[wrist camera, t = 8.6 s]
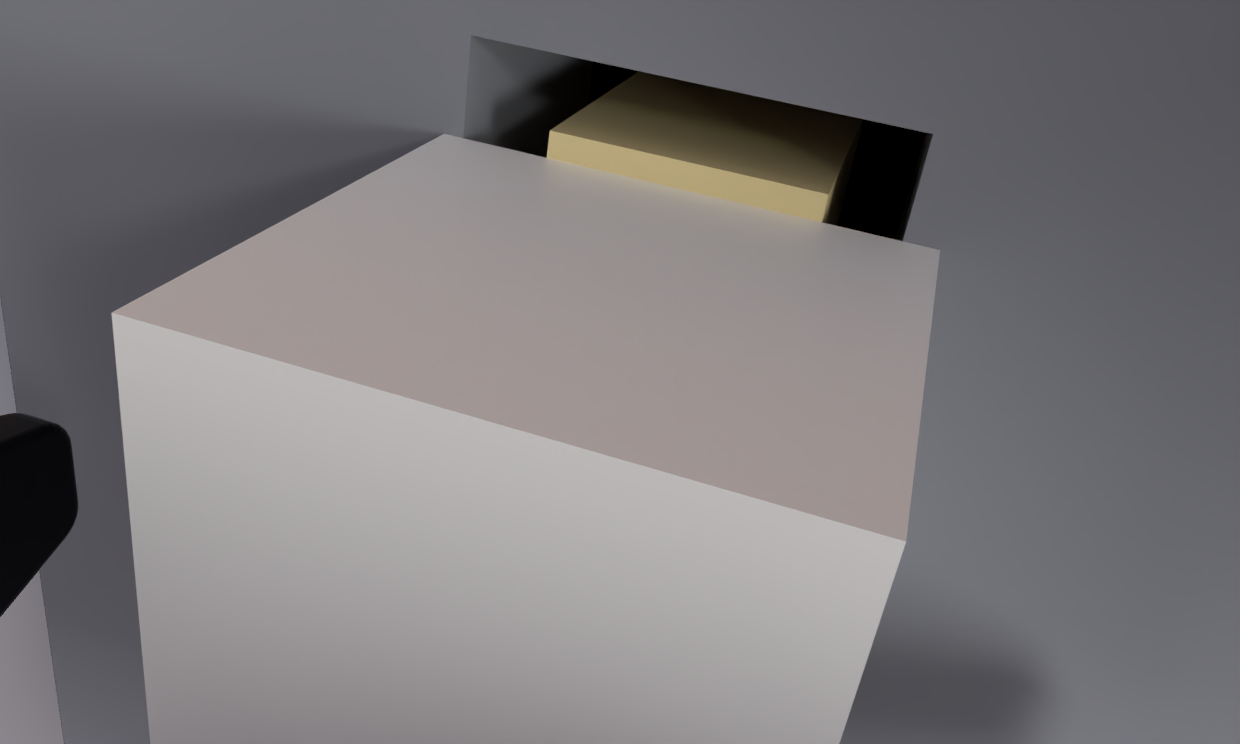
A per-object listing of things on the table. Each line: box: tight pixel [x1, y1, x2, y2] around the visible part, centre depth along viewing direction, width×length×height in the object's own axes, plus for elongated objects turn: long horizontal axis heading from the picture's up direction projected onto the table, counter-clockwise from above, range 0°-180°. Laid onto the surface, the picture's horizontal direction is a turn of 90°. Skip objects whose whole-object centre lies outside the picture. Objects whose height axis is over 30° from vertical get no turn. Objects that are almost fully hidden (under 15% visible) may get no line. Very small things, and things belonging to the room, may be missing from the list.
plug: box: [112, 71, 940, 744], centre depth 9 cm, size 4×9×6 cm, turn 171°
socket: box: [0, 0, 1240, 744], centre depth 10 cm, size 12×20×3 cm, turn 172°
